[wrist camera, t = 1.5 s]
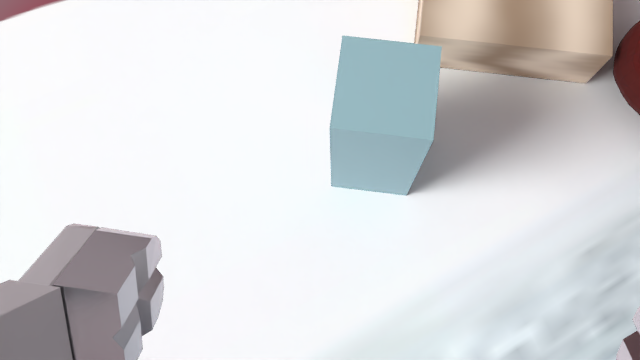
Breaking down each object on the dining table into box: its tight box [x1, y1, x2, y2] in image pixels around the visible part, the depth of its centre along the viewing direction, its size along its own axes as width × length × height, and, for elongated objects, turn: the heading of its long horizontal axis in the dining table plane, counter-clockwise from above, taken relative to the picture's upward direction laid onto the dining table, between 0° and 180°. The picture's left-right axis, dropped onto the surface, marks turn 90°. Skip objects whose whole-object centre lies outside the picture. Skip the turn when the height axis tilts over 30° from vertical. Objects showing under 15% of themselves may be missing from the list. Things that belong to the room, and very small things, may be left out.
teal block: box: [330, 36, 442, 195], centre depth 34 cm, size 5×5×11 cm
